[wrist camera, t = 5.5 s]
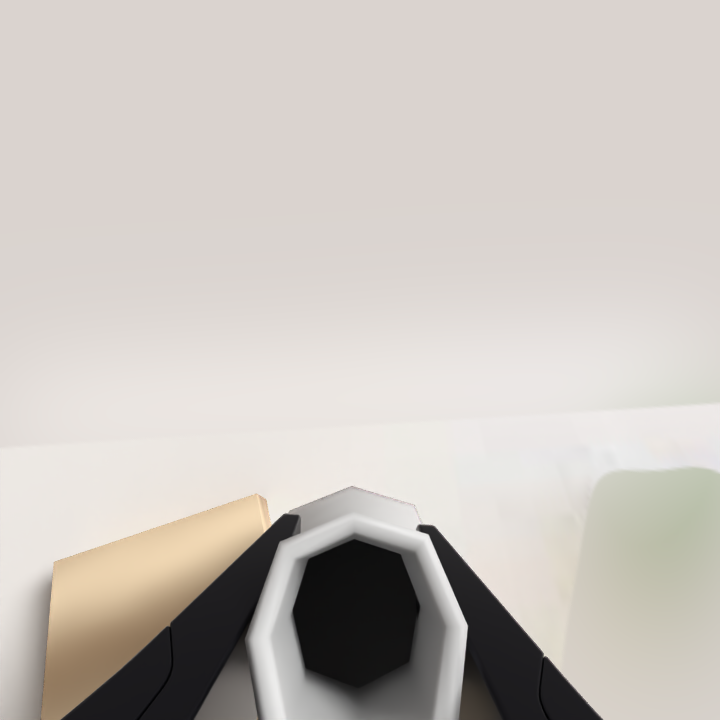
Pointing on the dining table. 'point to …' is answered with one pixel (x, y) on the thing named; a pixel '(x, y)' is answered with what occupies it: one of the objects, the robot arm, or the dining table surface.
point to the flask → (357, 618)
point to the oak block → (135, 594)
